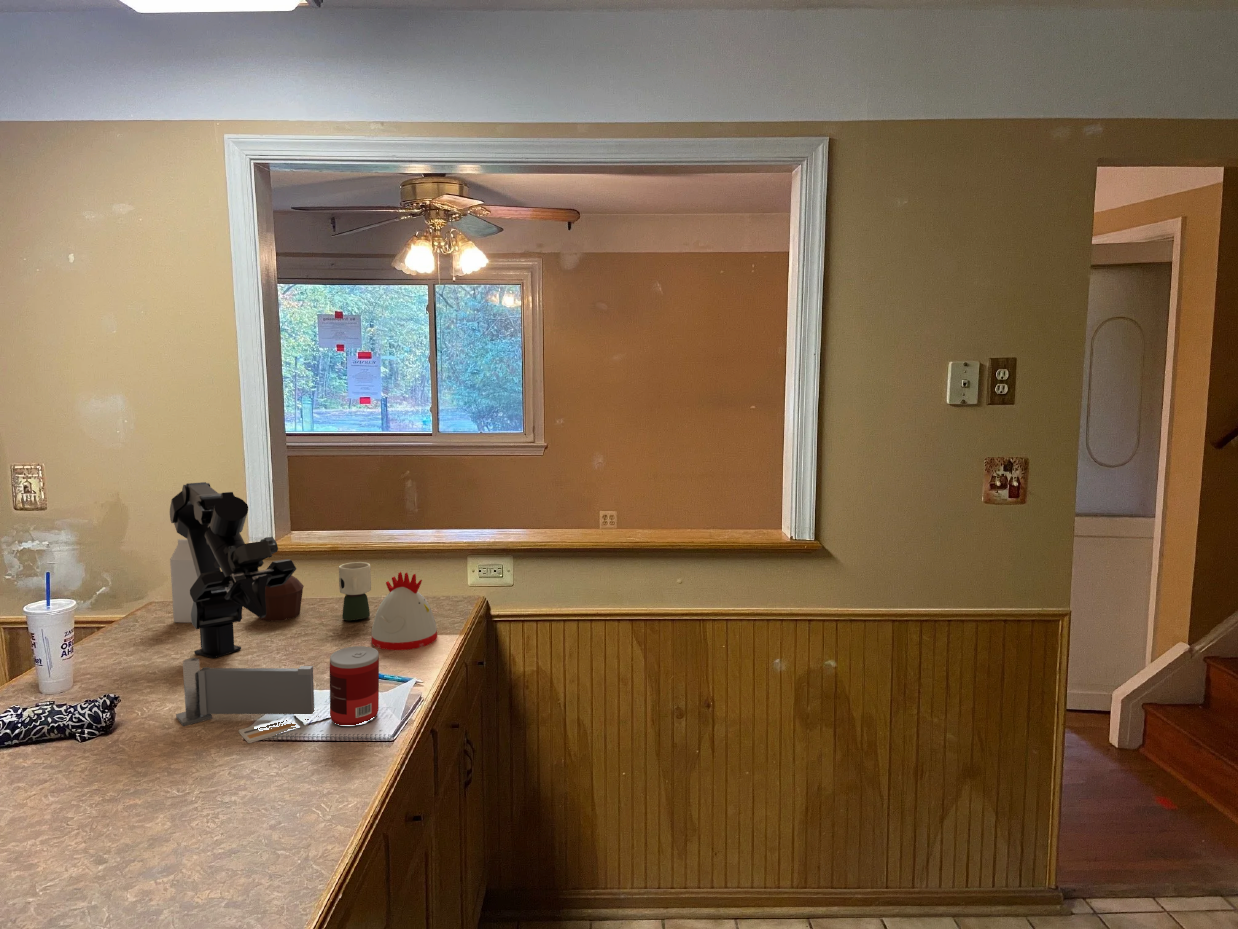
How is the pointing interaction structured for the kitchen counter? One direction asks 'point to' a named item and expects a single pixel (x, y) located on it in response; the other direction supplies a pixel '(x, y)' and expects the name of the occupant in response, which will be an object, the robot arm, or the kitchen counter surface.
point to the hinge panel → (256, 690)
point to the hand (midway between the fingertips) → (263, 616)
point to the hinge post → (191, 694)
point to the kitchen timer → (403, 617)
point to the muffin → (283, 600)
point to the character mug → (355, 589)
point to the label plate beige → (263, 732)
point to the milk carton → (182, 581)
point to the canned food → (354, 685)
